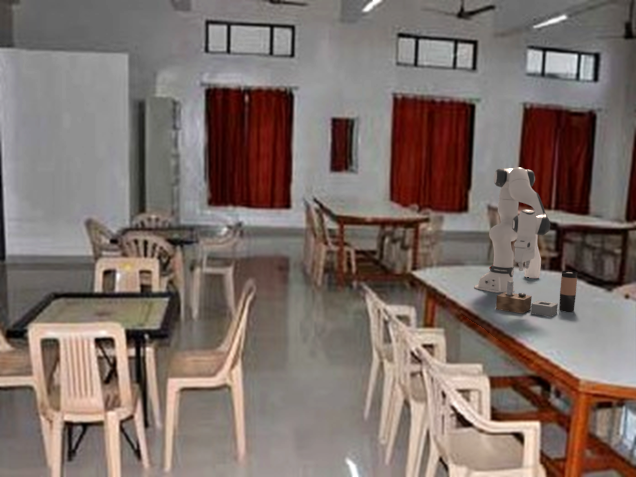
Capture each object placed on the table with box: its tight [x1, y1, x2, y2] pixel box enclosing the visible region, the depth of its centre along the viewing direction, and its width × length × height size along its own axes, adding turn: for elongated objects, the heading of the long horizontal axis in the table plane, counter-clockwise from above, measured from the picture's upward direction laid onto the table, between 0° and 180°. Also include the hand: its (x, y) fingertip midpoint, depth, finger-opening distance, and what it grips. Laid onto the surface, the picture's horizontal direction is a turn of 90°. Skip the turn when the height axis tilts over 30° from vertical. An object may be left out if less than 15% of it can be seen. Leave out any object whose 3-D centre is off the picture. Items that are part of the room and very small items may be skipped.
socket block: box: [495, 292, 532, 314], centre depth 361 cm, size 14×12×7 cm
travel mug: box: [558, 270, 578, 313], centre depth 362 cm, size 8×8×20 cm
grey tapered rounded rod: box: [506, 280, 514, 296], centre depth 362 cm, size 3×3×14 cm
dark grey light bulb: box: [517, 292, 527, 298], centre depth 359 cm, size 4×4×8 cm
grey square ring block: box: [530, 300, 559, 318], centre depth 355 cm, size 10×10×5 cm
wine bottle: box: [523, 234, 542, 279], centre depth 452 cm, size 10×10×30 cm
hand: (524, 269), depth 357 cm, fingers open, 8 cm apart
